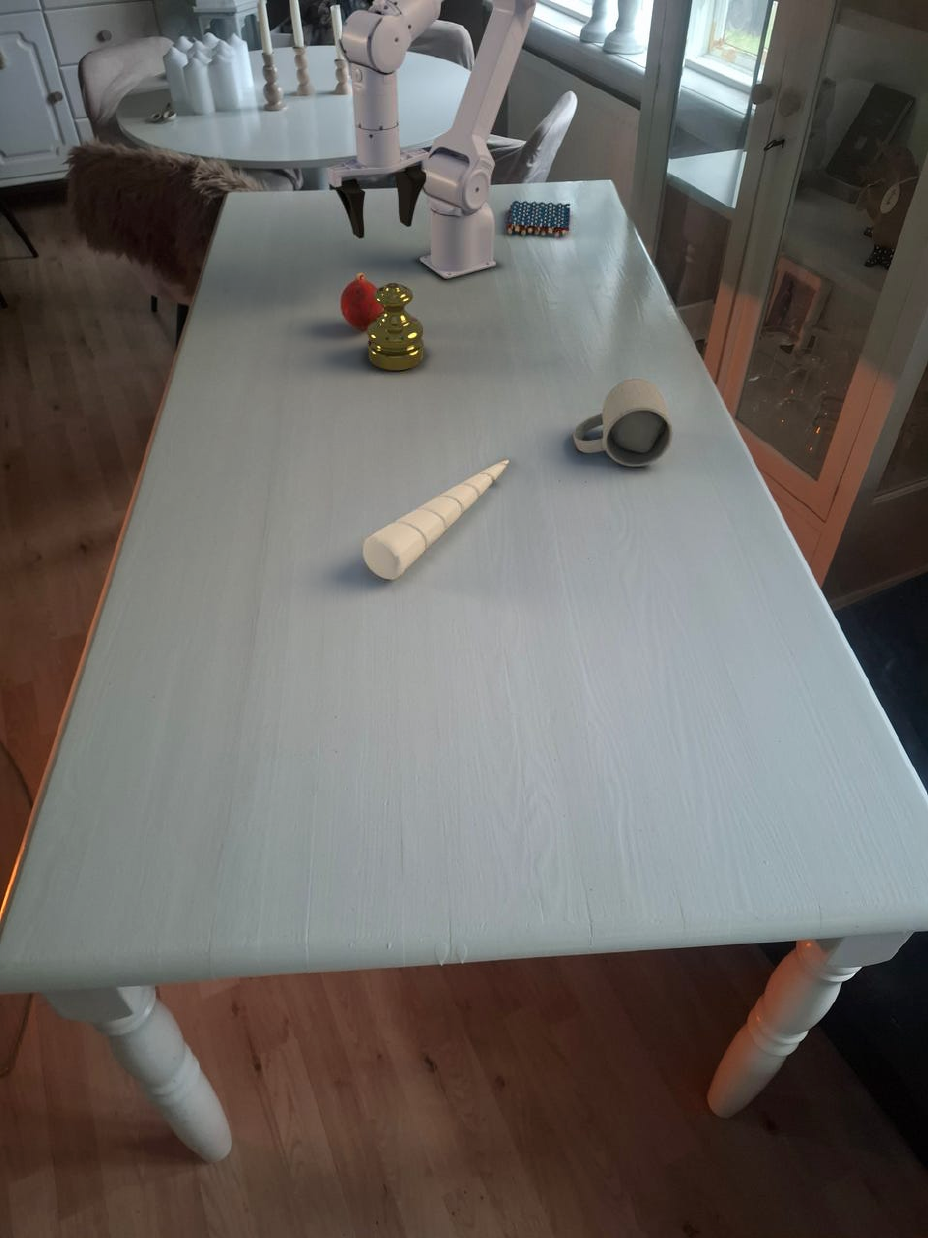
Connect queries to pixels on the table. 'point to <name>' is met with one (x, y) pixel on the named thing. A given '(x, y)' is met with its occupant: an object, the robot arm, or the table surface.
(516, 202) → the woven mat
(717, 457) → the table surface
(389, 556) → the unicorn horn
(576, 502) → the table surface
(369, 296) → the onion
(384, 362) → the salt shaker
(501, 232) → the table surface
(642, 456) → the ceramic mug
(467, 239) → the robot arm
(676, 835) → the table surface
